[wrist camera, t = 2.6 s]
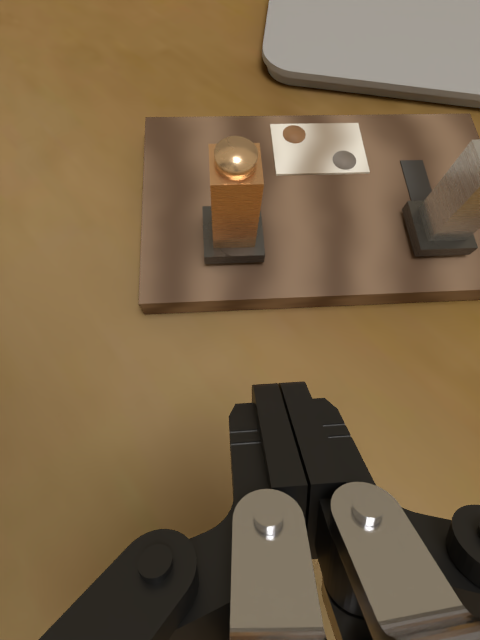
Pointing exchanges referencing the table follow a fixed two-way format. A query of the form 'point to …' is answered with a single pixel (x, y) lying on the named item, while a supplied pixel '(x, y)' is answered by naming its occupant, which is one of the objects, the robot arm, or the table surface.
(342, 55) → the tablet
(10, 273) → the table surface
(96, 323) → the table surface
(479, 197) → the grey switch
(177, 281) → the switch board
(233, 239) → the copper switch
